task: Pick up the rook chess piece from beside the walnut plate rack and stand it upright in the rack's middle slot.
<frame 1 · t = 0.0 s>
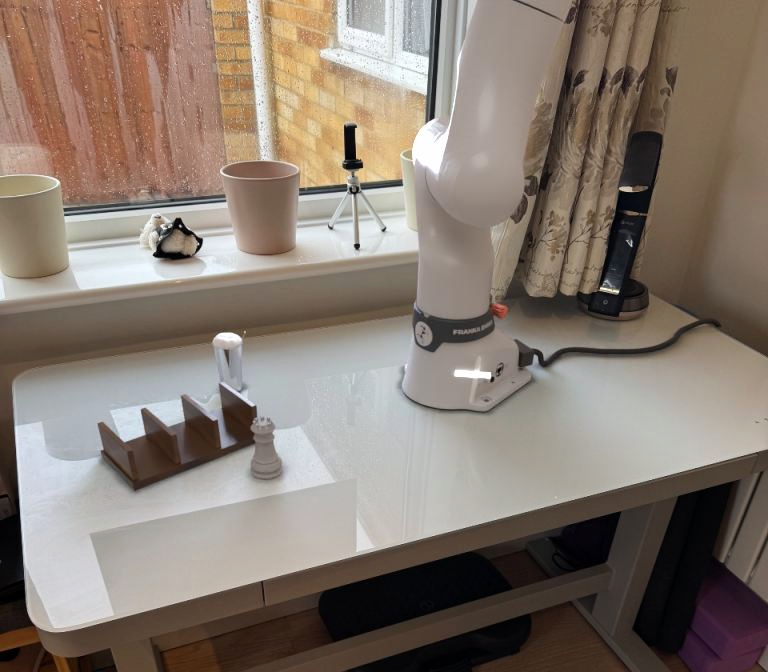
plate rack: (184, 448, 106), on the table
rook chess piece: (267, 472, 102), on the table
milkshake: (234, 389, 121), on the table
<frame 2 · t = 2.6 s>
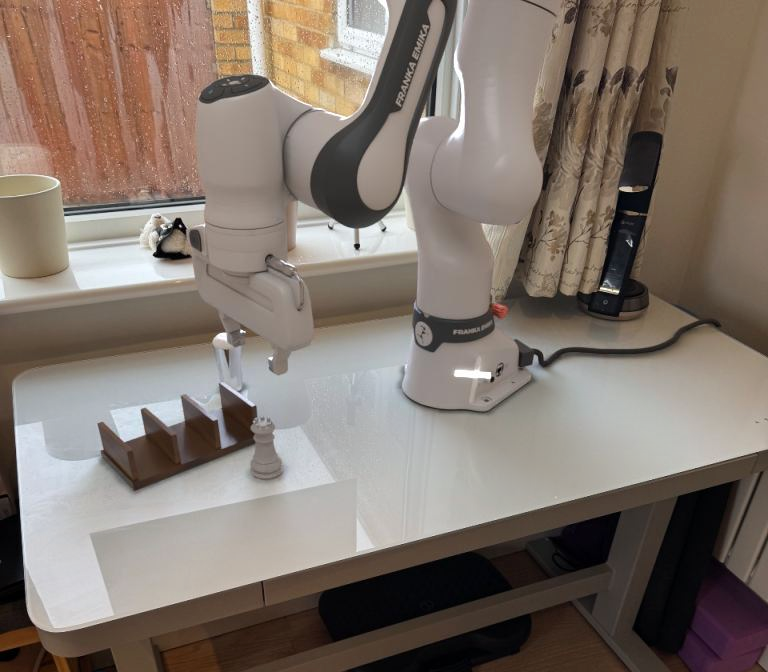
hand: (257, 358, 92), 17 cm above the table, tool pointing down, fingers open, 8 cm apart
nothing on the table moved.
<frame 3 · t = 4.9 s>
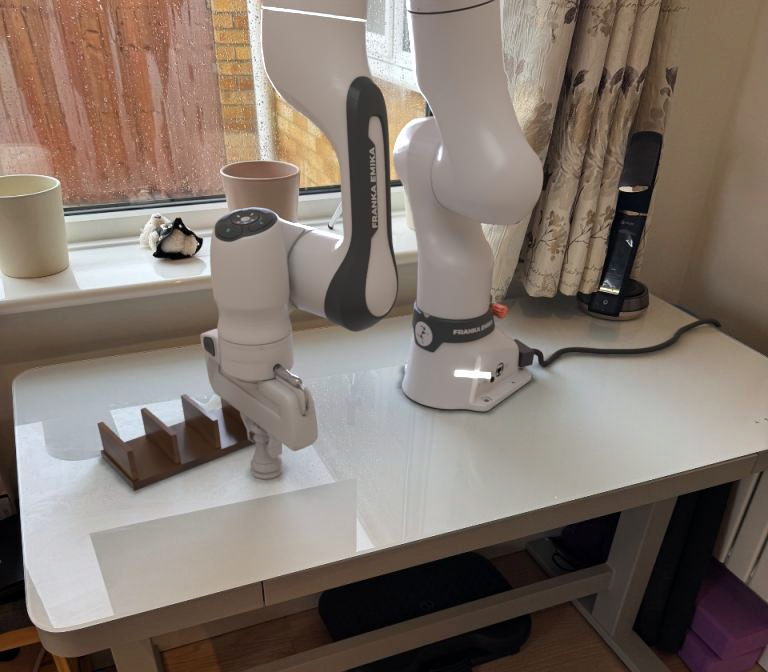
hand: (265, 447, 100), 4 cm above the table, tool pointing down, fingers closed on rook chess piece, 3 cm apart
rook chess piece: (267, 472, 102), on the table, touching gripper
everything else where it was.
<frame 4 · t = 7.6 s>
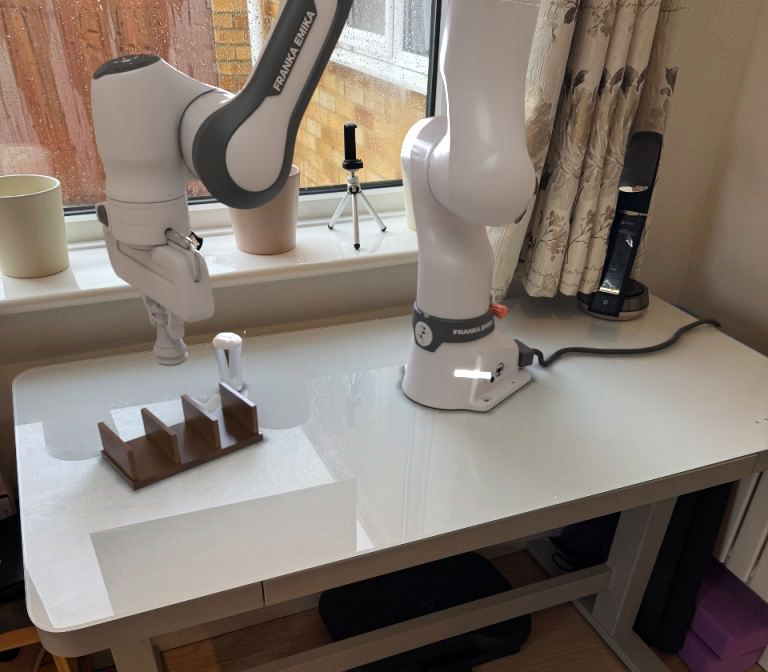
hand: (167, 331, 95), 18 cm above the table, tool pointing down, fingers closed on rook chess piece, 3 cm apart
rook chess piece: (171, 361, 97), point 14 cm above the table, touching gripper
everything else where it was.
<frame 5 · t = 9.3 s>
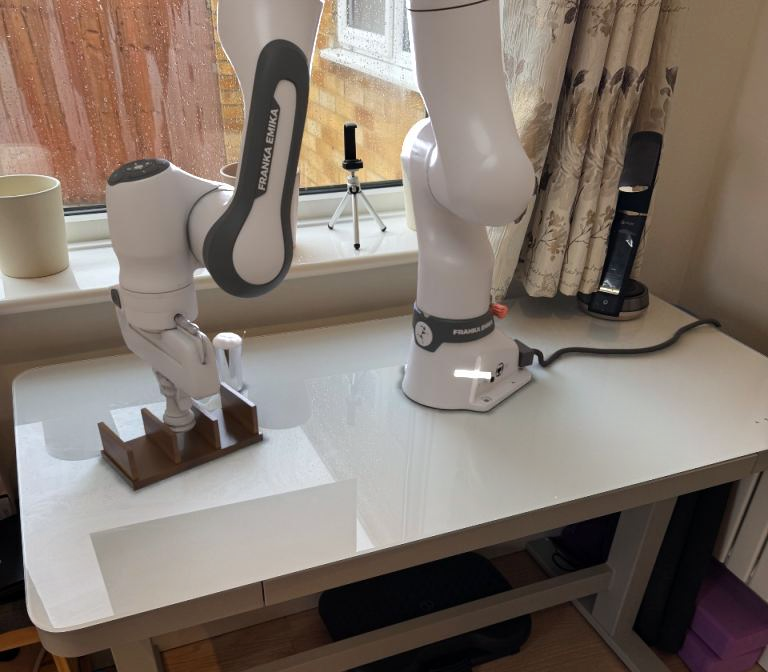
hand: (176, 401, 101), 8 cm above the table, tool pointing down, fingers closed on rook chess piece, 3 cm apart
rook chess piece: (180, 427, 104), point 4 cm above the table, touching gripper
everything else where it was.
when the fingers open (5 cm above the table, at t = 10.4 s): rook chess piece stays where it is, resting on plate rack.
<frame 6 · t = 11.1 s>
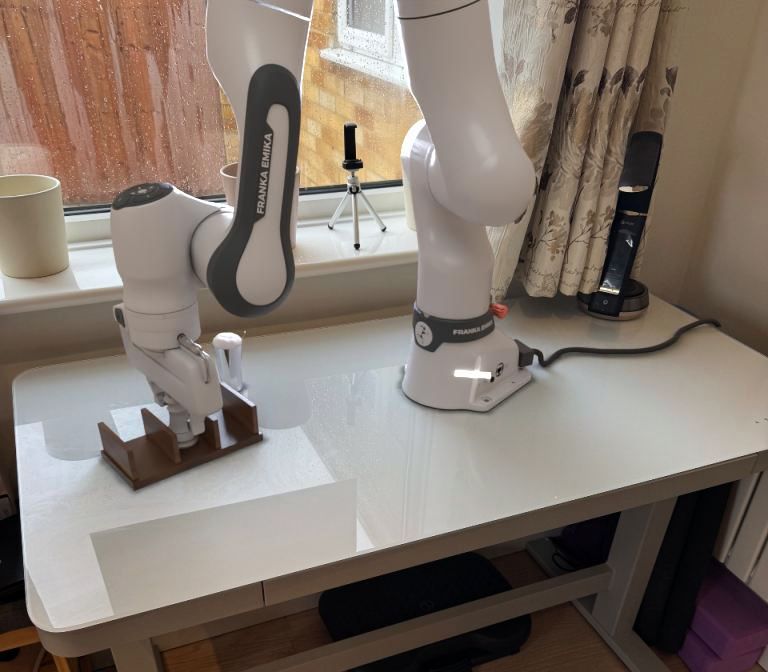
hand: (179, 417, 103), 5 cm above the table, tool pointing down, fingers open, 8 cm apart
rook chess piece: (183, 443, 105), point 1 cm above the table, touching plate rack
everything else where it was.
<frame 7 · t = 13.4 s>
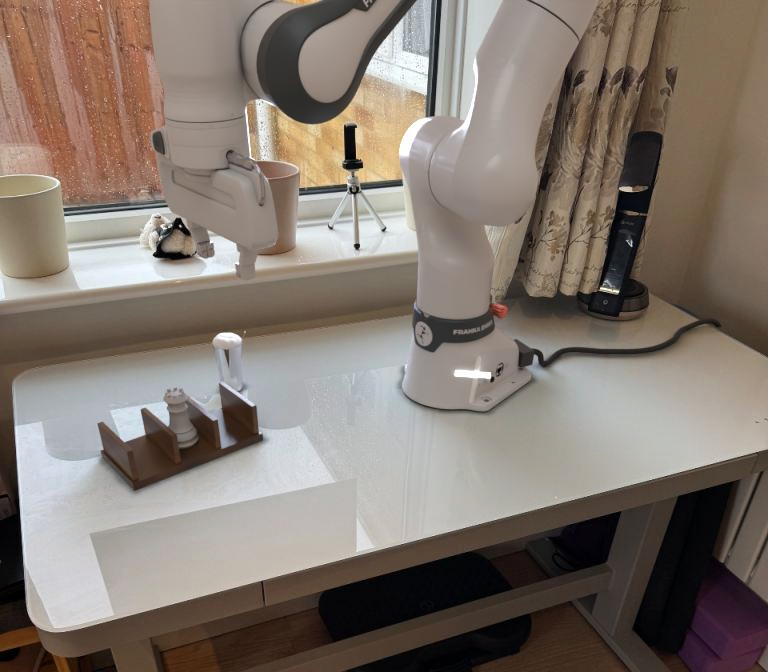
hand: (225, 266, 91), 26 cm above the table, tool pointing down, fingers open, 8 cm apart
nothing on the table moved.
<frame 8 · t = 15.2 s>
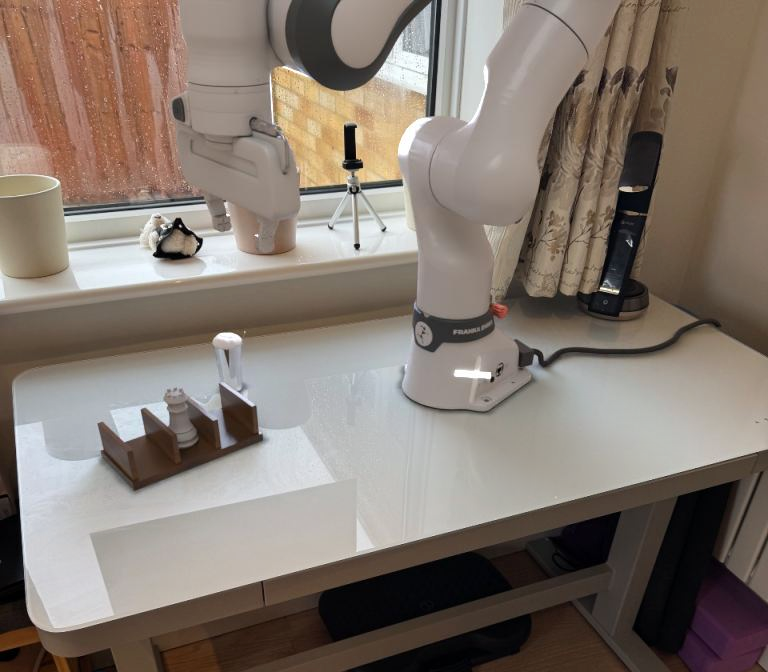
hand: (242, 240, 89), 29 cm above the table, tool pointing down, fingers open, 8 cm apart
nothing on the table moved.
at the end: rook chess piece 0.1 cm off-centre on the plate rack, point 1.0 cm above the plate rack's base; rook chess piece tilted 0°; the gripper is holding nothing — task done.
